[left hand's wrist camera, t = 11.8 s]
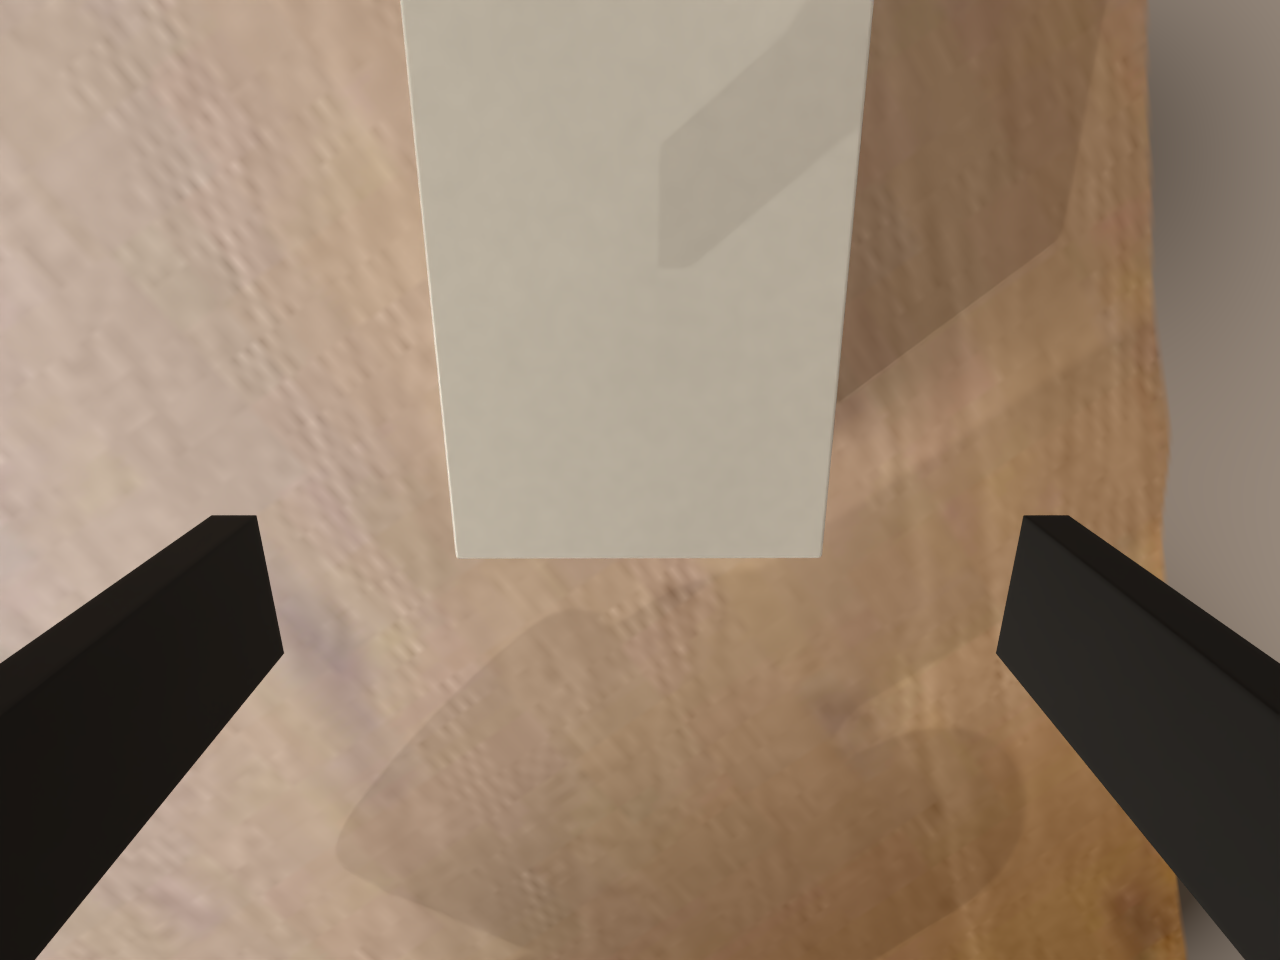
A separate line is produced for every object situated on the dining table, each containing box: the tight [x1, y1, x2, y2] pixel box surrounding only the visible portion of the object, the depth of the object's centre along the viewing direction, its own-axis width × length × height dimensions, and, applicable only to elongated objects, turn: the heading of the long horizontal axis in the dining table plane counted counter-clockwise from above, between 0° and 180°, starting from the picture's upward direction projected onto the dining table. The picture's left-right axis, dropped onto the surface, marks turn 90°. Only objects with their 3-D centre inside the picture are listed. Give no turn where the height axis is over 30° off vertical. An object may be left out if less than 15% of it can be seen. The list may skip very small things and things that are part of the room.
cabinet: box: [400, 0, 874, 559], centre depth 21 cm, size 16×10×9 cm, turn 0°
